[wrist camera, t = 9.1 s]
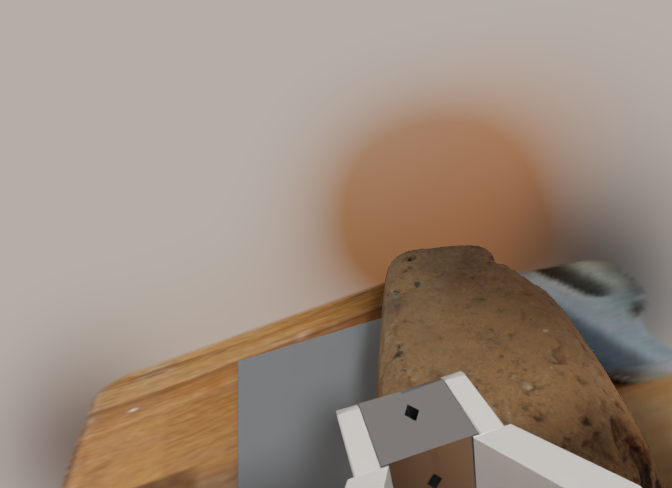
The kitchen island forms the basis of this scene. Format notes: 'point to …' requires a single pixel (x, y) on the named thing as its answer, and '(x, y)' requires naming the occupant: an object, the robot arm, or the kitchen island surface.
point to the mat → (303, 408)
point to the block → (505, 354)
